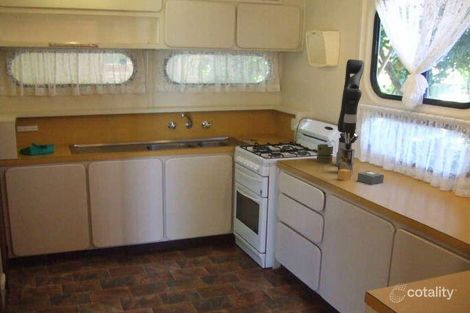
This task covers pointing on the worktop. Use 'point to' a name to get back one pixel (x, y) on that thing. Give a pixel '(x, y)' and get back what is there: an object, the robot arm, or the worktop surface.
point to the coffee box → (346, 159)
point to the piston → (324, 153)
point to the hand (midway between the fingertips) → (347, 149)
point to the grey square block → (370, 178)
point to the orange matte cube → (344, 174)
